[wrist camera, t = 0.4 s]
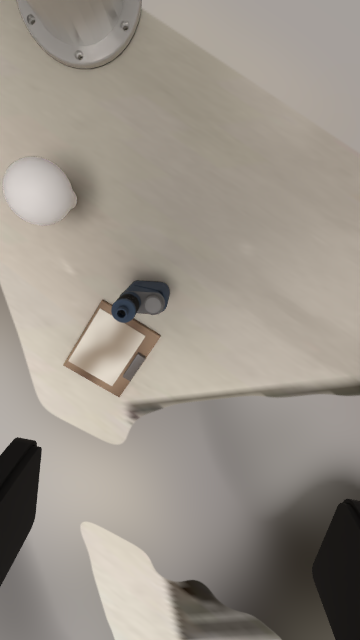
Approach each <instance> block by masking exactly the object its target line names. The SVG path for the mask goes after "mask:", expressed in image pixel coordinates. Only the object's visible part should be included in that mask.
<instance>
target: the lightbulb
mask: <svg viewBox="0 0 360 640" xmlns="http://www.w3.org/2000/svg"><path fill="white" fill-rule="evenodd" d="M3 193H4V197H5V199H6V202H7V204H8V205H9V207H10V208H11V209H12V211H13V212H14V213H15V214H16V215H17V216H19V217H20V218H21V219H23V220H25V221H27V222H29V223H31V224H34V225H41V226H43V225H52V224H55V223H57V222H59V221H60V220H62V219H63V218H64V217H65V216H66V215H67V214H68V212H69V210H71V209H73V208H74V207H75V206H76V204H77V196H76V194H75V193H74V191H73V190H72V187H71V184H70V181H69V180H68V178H67V176H66V175H65V173H64V172H63V171H62V169H61V168H59V167H58V166H57V165H56V164H54V163H53V162H51V161H49V160H47V159H45V158H42V157H36V156H31V157H24V158H20V159H18V160H17V161H15V162H13V163H12V164H11V165H10V166H9V167H8V169H7V170H6V172H5V175H4V178H3Z"/></svg>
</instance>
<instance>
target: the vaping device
mask: <svg viewBox="0 0 360 640" xmlns="http://www.w3.org/2000/svg"><path fill="white" fill-rule="evenodd" d="M169 294H170V290H169V287H168V286H167V284H165V283H163V282H152V281H134V282H133V283H132V284H131V285H130V286H129V287H128V288H127V289H126V290H125V291H124V292H123V293H122V294H121V295H120V297H119V298H118V299H117V300H116V301H115V303H114V304H113V305H112V308H111V313H112V316H113V317H114V319H115V320H117V321H118V322H121V323H127V322H129V321H131V320H132V319H133V318H134V316H135V315H136V313H143V314H151V315H155V314H159V313H161V312H163V311H164V310H165V309H166V307H167V303H168V299H169Z"/></svg>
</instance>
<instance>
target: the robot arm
mask: <svg viewBox="0 0 360 640" xmlns="http://www.w3.org/2000/svg"><path fill="white" fill-rule="evenodd" d="M141 3H142V0H17V5H18V9H19V11H20V14H21V16H22V19H23V21H24V23H25V25H26V27H27V28H28V30H29V32H30V34H31V35H32V36H33V38H34V39H35V40H36V42H37V43H38V44H39V45H40V46H41V47H42V48H43V49H44V50H45V51H46V53H47V54H49V55H50V56H52V57H53V58H54V59H56V60H57V61H59V62H61V63H63V64H65V65H68V66H71V67H76V68H94V67H99V66H102V65H104V64H106V63H108V62H110V61H112V60H113V59H114V58H116V57H117V56H118V55H119V54H121V52H122V51H123V50H124V49H125V48H126V46H127V45H128V44H129V42H130V40H131V38H132V37H133V35H134V33H135V30H136V27H137V24H138V22H139V17H140V12H141ZM126 28H127V29H128V30H127V31H124V30H125V29H126ZM81 57H83V58H82V59H81V60H80V58H81ZM41 450H42V449H41V447H37V443H36V441H33V440H28V439H23V438H18V437H17V438H15V439H14V440H13V441H12V442H11V443H10V445H9V446H8V447H7V448H6V449H5V451H4V452H3V453H2V454H1V455H0V586H1V584H2V582H3V581H4V579H5V577H6V575H7V573H8V571H9V569H10V567H11V566H12V564H13V562H14V560H15V558H16V556H17V554H18V552H19V551H20V549H21V547H22V545H23V543H24V541H25V539H26V537H27V535H28V534H29V532H30V530H31V527H32V525H33V522H34V519H35V514H36V504H37V492H38V482H39V472H40V462H41ZM312 572H313V579H314V582H315V585H316V587H317V590H318V593H319V595H320V598H321V601H322V604H323V607H324V609H325V612H326V615H327V617H328V620H329V623H330V626H331V628H332V631H333V634H334V637H335V639H336V640H360V501H357V500H352V499H346V500H344V502H343V503H340V504H339V505H338V507H337V509H336V512H335V514H334V516H333V519H332V521H331V523H330V526H329V528H328V530H327V533H326V535H325V537H324V540H323V542H322V545H321V547H320V549H319V552H318V554H317V557H316V559H315V561H314V563H313V567H312Z"/></svg>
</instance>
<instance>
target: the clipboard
mask: <svg viewBox="0 0 360 640" xmlns="http://www.w3.org/2000/svg"><path fill="white" fill-rule="evenodd" d="M111 308H112V305H111V304H109V303H108V302H106V301H104V300H102V301H101V303H100V305H99V306H98V308H97V310H96V311H95V313H94V315H93V316H92V318H91V320H90V321H89V323H88V325H87V326H86V328H85V330H84V331H83V333H82V335H81V336H80V338H79V340H78V341H77V343H76V345H75V346H74V348H73V350H72V351H71V353H70V355H69V356H68V358H67V360H66V361H65V363H64V366H66V367H67V368H69V369H71V370H73V371H74V372H76V373H78V374H79V375H81V376H83V377H85V378H86V379H88V380H90V381H92V382H93V383H95V384H97V385H99V386H100V387H102V388H104V389H106V390H107V391H109V392H111V393H113V394H114V395H116V396H118V397H120V395H121V394H122V392H123V391H124V389H125V388H126V387H127V385H128V384H129V382H130V381H131V379H132V378H133V376H134V375H135V373H136V372H137V370H138V369H139V367H140V366H141V365H142V363H143V362H144V360H145V359H146V357H147V356H148V354H149V353H150V351H151V350H152V348H153V347H154V345H155V344H156V343H157V341H158V340H159V338H160V336H161V335H159V334H158V333H156V332H154V331H153V330H151V329H150V328H148V327H146V326H145V325H143V324H141V323H140V322H138V321H137V320H135V319H132V320H131V321H129V322H127V323H121V322H118V321H117V320H115V319H114V317H113V316H112V313H111Z"/></svg>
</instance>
